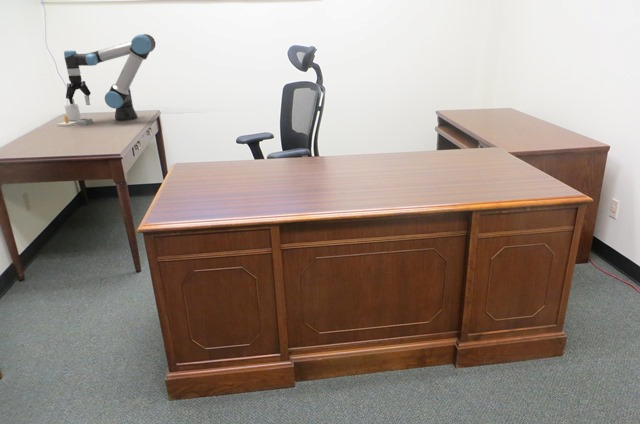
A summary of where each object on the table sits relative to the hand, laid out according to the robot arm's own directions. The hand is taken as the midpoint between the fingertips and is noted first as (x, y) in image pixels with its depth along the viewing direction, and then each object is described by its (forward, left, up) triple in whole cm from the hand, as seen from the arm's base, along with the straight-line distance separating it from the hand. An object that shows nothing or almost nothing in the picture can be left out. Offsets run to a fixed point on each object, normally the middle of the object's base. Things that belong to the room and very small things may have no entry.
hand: (81, 106), depth 319 cm
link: (0, 0, -12) cm, 12 cm away
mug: (+18, -10, -12) cm, 24 cm away
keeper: (+9, +6, -12) cm, 16 cm away
